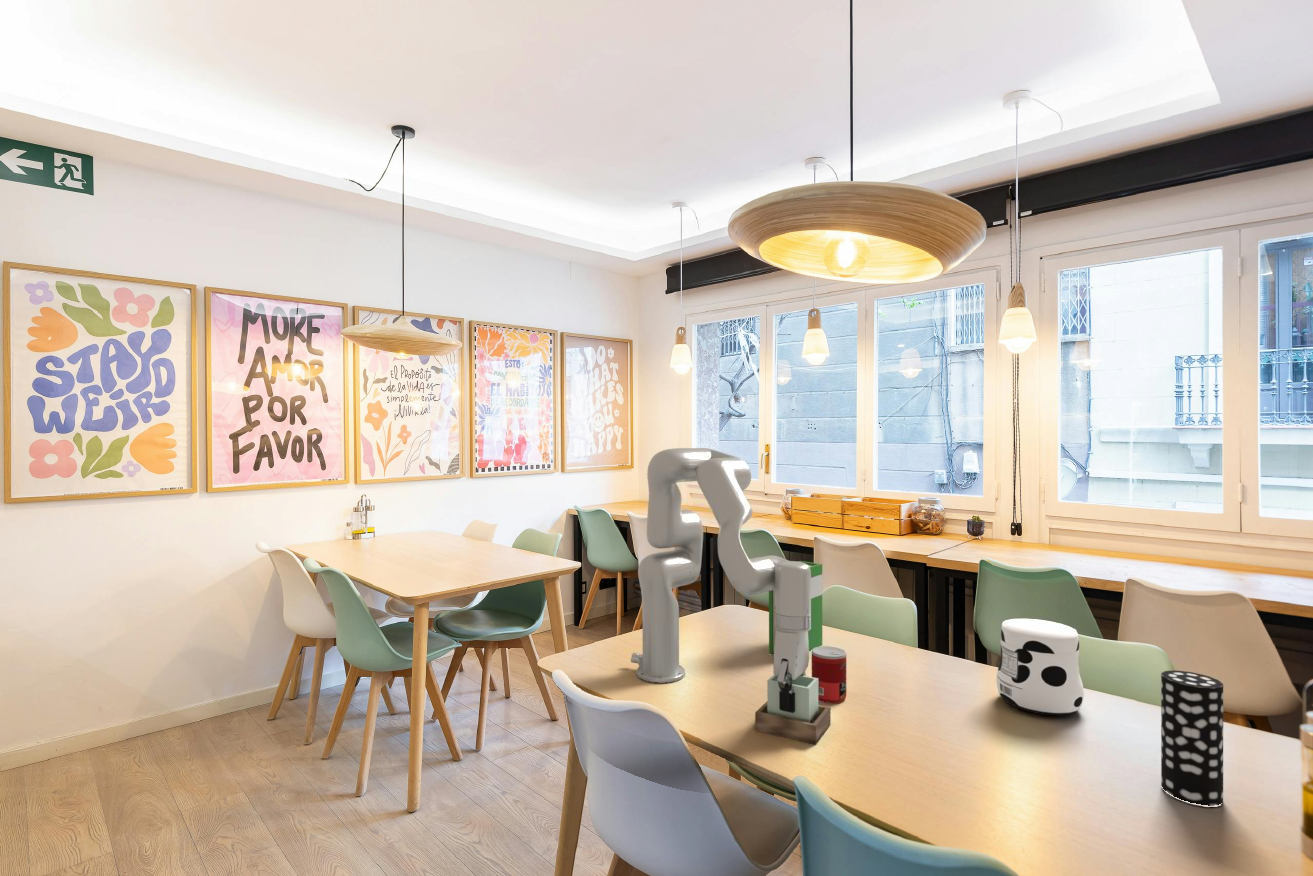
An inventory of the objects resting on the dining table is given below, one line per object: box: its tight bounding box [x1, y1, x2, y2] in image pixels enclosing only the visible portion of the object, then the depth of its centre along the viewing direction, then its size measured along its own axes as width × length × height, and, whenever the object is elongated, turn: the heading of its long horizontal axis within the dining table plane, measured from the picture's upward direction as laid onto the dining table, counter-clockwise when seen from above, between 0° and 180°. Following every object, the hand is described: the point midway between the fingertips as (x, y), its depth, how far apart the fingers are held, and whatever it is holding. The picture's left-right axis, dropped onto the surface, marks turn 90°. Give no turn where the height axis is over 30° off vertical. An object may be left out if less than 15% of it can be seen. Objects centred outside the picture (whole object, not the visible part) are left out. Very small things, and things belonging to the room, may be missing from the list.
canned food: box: [811, 645, 847, 704], centre depth 157 cm, size 8×8×11 cm
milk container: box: [995, 618, 1085, 716], centre depth 152 cm, size 17×17×18 cm
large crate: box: [754, 701, 832, 746], centre depth 141 cm, size 13×10×4 cm
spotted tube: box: [1160, 669, 1224, 806], centre depth 114 cm, size 8×8×20 cm
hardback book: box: [768, 560, 823, 655], centre depth 192 cm, size 18×7×24 cm, turn 139°
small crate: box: [766, 674, 819, 722], centre depth 141 cm, size 9×6×7 cm
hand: (792, 704), depth 141 cm, fingers closed on small crate, 6 cm apart
